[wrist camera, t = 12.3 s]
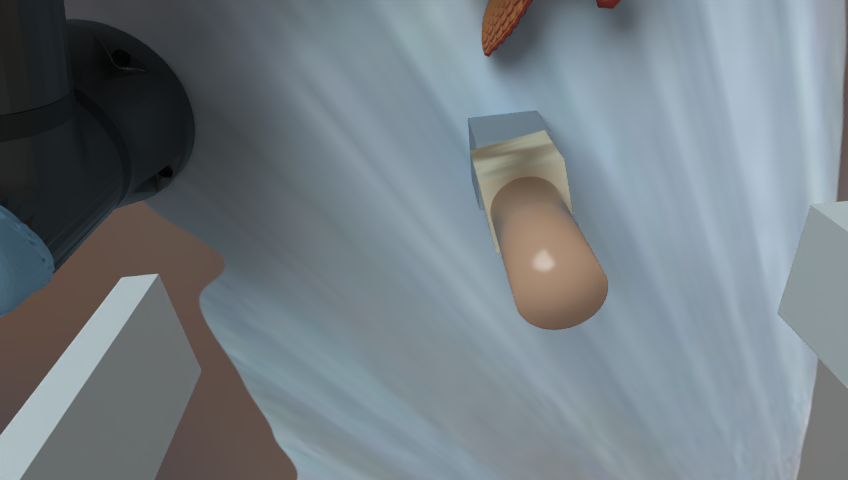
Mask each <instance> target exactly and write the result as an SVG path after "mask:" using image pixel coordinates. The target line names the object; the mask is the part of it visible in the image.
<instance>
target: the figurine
mask: <svg viewBox="0 0 848 480" xmlns="http://www.w3.org/2000/svg"><path fill="white" fill-rule="evenodd" d="M620 1H621V0H596V2H597V5H598V7H599V8H610V9H613V8H614V7H615V6H616V5H617V4H618V3H619V2H620ZM531 2H532V0H489V3H488V5H487V8H486V11H485V14H484V17H483V23H482V47H483V51H484V54H485V55H486V56H488V57H489V56H490V55H491V53H492V51H494V50H497V48H498V46H499V45H500V44H502V43H503V42H504V40H505V38H506V37H508V36H510V35H511V33H512V31H513V29H514V28H516V27H517V25H518V23H519V20H520V18H521V17H522V16H523V15H524V14H525V12H526V9H527V7H528V6H529V5H530V3H531Z"/></svg>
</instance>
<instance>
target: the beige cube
mask: <svg viewBox="0 0 848 480" xmlns="http://www.w3.org/2000/svg"><path fill="white" fill-rule="evenodd" d="M470 153H471V157H472V161H473V165H474V169H475V173H476V177H477V181H478V185H479V189H480V193H481V197H482V201H483V205H484V209H485V213H486V217H487V220H488V224H489V228H490V231H491V235H492V238H493V242H494V246H495V249H496V253H498V252H500V248H499V245H498V241H497V238H496V234H495V231H494V227H493V224H492V220H491V216H490V208H491V204H492V201H493V199H494V197H495V195H496V194H497V192H498V191H499V190H500V189H501V188H502V187H503V186H504V185H506V184H507V183H509V182H511V181H513V180H515V179H518V178H521V177H529V176H533V177H540V178H543V179H546V180H548V181H549V182H551V183H552V184H553V185H554V186H555V187H556V188H557V189H558V190H559V192H560V194H561V196H562V198H563V199H564V201H565V203H566V205H567V207H568V208H569V210H570V212H571V214H572V216H573V212H572V206H571V199H570V193H569V186H568V180H567V173H566V167H565V160H564V159H563V157H562V156H561V154H560V153H559V151H558V150H557V148H556V147H555V145H554V144H553V142H552V141H551V139H550V137H549V136H548V134H547V133H546V131H545V130H543V131H540V132H536V133H532V134H529V135H525V136H521V137H518V138H514V139H511V140H507V141H503V142H500V143H496V144H492V145H489V146H485V147H482V148H478V149H474V150H471V151H470Z"/></svg>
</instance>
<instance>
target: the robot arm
mask: <svg viewBox="0 0 848 480" xmlns="http://www.w3.org/2000/svg"><path fill="white" fill-rule="evenodd" d="M194 132H195V129H194V119H193V114H192V110H191V106H190V103H189V100H188V98H187V96H186V93H185V91H184V89H183V87H182V86H181V84H180V82H179V81H178V79H177V78H176V76H175V75H174V73H173V72H172V71H171V69H170V68H169V67H168V66H167V65H166V64H165V62H164V61H163V60H162V59H161V58H160V57H159V56H158V55H157V54H155V53H154V52H153V51H152V50H151V49H150V48H148V47H147V46H146V45H144V44H143V43H142V42H140V41H139V40H137V39H136V38H134V37H132V36H131V35H129V34H127V33H125V32H123V31H121V30H118V29H116V28H114V27H111V26H108V25H105V24H102V23H98V22H93V21H87V20H78V19H69V20H66V15H65V7H64V0H0V317H2V316H5V315H6V314H8V313H9V312H11V311H13V310H14V309H15V308H16V307H18V306H19V305H20V304H21V303H22V302H23V301H24V300H25V299H27V298H28V297H29V296H30V295H31V294H32V293H34V292H36V291H37V290H39V289H42V288H43V287H45V286H46V285H47V284H48V283H49V282H50V280H51V278H52V276H53V275H54V273H55V272H56V271H57V270H58V269H59V268H60V267H61V265H62V264H63V263H64V262H65V261H66V260H67V259H68V258H69V257H70V256H71V255H72V254H73V253H74V251H76V249H77V248H78V247H79V246H80V245H81V244H82V243H83V242H84V241H85V240H86V239H87V237H88V236H90V234H91V233H92V232H93V231H94V230H95V229H96V228H97V227H98V226H99V225H100V224H101V223H102V222H103V221H104V220H105V218H107V217H108V215H109V214H110V213H111V212H112V211H113V210H114V209H116V208H119V207H122V206H125V205H128V204H131V203H135V202H137V201H141V200H144V199H147V198H149V197H151V196H153V195H155V194H157V193H158V192H160V191H161V190H163V189H164V188H165V187H167V186H168V185H169V184H170V183H171V182H172V181H173V180H174V178H175V177H176V176H177V175H178V174H179V173H180V171H181V170H182V169H183V168H184V166H185V165H186V163H187V161H188V159H189V157H190V154H191V151H192V148H193V143H194ZM777 313H778V315H779V316H780V317H781V318H782V319H783V320H784V321H785V322H786V323H787V324H788V325H789V326H790V327H791V328H792V330H793V331H794V332H795V333H796V334H797V335H798V336H799V337H800V338H801V339H802V340H803V341H804V342H805V343H806V345H807V346H808V347H809V348H810V349H811V350H812V351H813V352H814V353H815V354H816V355H817V356H818V357H819V358H820V359H821V361H822V362H823V363H824V364H825V365H826V366H827V367H828V368H829V369H830V370H831V371H832V372H833V373H834V374H835V375H836V377H837V378H838V379H839V380H840V381H841V382H842V383H843V384H844V385H845V386H846V387H847V388H848V201H844V202H834V203H824V204H815V205H811V206H810V209H809V212H808V216H807V219H806V222H805V225H804V229H803V232H802V235H801V238H800V241H799V245H798V248H797V251H796V254H795V258H794V261H793V264H792V267H791V270H790V274H789V277H788V280H787V283H786V287H785V290H784V293H783V296H782V299H781V303H780V306H779V309H778V312H777ZM200 374H201V369H200V366H199V364H198V362H197V360H196V357H195V355H194V353H193V351H192V348H191V346H190V344H189V342H188V339H187V337H186V335H185V332H184V330H183V328H182V326H181V323H180V321H179V319H178V317H177V314H176V312H175V310H174V307H173V305H172V303H171V301H170V298H169V296H168V294H167V292H166V289H165V287H164V285H163V283H162V280H161V278H160V276H159V274H151V275H142V276H133V277H123V278H121V279H120V280H119V282H118V283H117V284H116V286H115V287H114V288H113V290H112V291H111V292H110V293H109V295H108V296H107V297H106V299H105V300H104V301H103V303H102V304H101V305H100V306H99V308H98V309H97V310H96V312H95V313H94V314H93V316H92V317H91V318H90V319H89V321H88V322H87V323H86V325H85V326H84V327H83V329H82V330H81V331H80V333H79V334H78V335H77V336H76V338H75V339H74V340H73V342H72V343H71V344H70V346H69V347H68V348H67V349H66V351H65V352H64V353H63V355H62V356H61V357H60V359H59V360H58V361H57V362H56V364H55V365H54V366H53V368H52V369H51V370H50V372H49V373H48V374H47V376H46V377H45V378H44V379H43V381H42V382H41V383H40V385H39V386H38V387H37V389H36V390H35V391H34V392H33V394H32V395H31V396H30V398H29V399H28V400H27V402H26V403H25V404H24V405H23V407H22V408H21V409H20V411H19V412H18V413H17V415H16V416H15V417H14V418H13V420H12V421H11V422H10V424H9V425H8V426H7V428H6V429H5V430H4V432H3V433H2V434H1V435H0V480H154V479H155V477H156V474H157V472H158V470H159V467H160V465H161V463H162V461H163V458H164V456H165V454H166V451H167V449H168V447H169V445H170V442H171V440H172V438H173V436H174V433H175V431H176V429H177V426H178V424H179V422H180V420H181V417H182V415H183V413H184V410H185V408H186V406H187V403H188V401H189V399H190V397H191V394H192V392H193V390H194V387H195V385H196V383H197V380H198V378H199V376H200Z"/></svg>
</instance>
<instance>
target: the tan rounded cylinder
mask: <svg viewBox="0 0 848 480" xmlns="http://www.w3.org/2000/svg"><path fill="white" fill-rule="evenodd" d="M490 216H491V220H492V224H493V227H494V231H495V234H496V238H497V241H498V245H499V248H500V252H501V255H502V259H503V262H504V266H505V269H506V273H507V276H508V280H509V283H510V287H511V290H512V294H513V297H514V301H515V304H516V307H517V310H518V312H519V313H520V315H521V316H522V317H523V318H524V319H525V320H526V321H527V322H529V323H530V324H532V325H534V326H536V327H539V328H543V329H551V330H557V329H565V328H570V327H573V326H576V325H578V324H580V323H583V322H584V321H586V320H588V319H589V318H590V317H592V316H593V315H594V314H595V313H596V312H597V311H598V310H599V309H600V307H601V306H602V305H603V303H604V301H605V299H606V296H607V292H608V281H607V277H606V275H605V273H604V271H603V269H602V267H601V266H600V264H599V262H598V260H597V258H596V257H595V255H594V253H593V251H592V250H591V248H590V246H589V244H588V242H587V241H586V239H585V237H584V235H583V233H582V232H581V230H580V228H579V226H578V224H577V223H576V221H575V219H574V217H573V216H572V214H571V212H570V210H569V208H568V207H567V205H566V203H565V201H564V199H563V198H562V196H561V194H560V192H559V190H558V189H557V188H556V187H555V186H554V185H553V184H552V183H551V182H549V181H548V180H546V179H543V178H540V177H533V176H529V177H521V178H518V179H515V180H513V181H511V182H509V183H507V184H506V185H504V186H503V187H502V188H501V189H500V190H499V191H498V192H497V194H496V195H495V197H494V199H493V201H492V204H491V208H490Z"/></svg>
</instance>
